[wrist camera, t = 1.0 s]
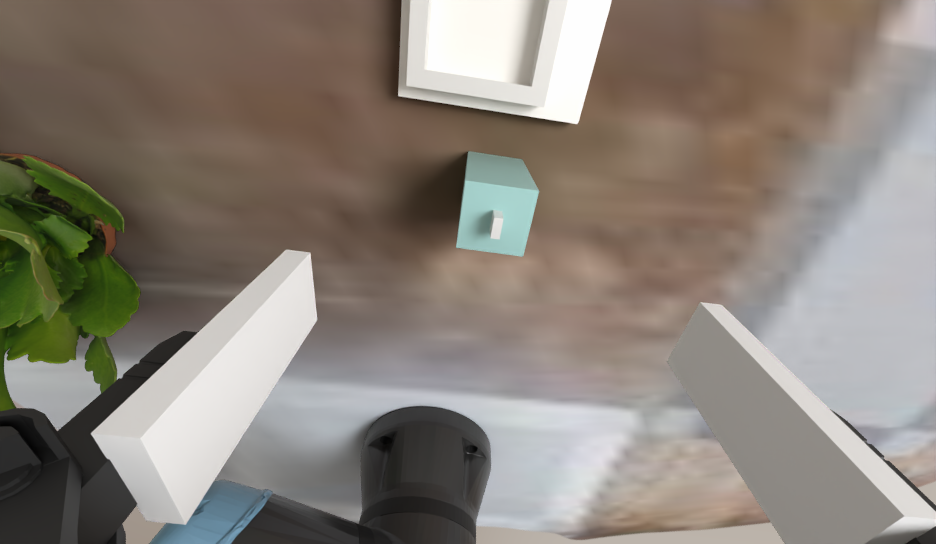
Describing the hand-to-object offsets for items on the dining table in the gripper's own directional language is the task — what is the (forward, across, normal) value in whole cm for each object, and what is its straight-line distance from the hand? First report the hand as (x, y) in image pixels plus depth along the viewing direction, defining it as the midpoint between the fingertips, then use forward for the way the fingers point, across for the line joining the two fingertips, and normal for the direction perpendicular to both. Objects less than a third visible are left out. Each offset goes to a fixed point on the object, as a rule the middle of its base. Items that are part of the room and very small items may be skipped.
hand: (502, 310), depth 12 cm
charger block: (+17, 0, 0) cm, 17 cm away
